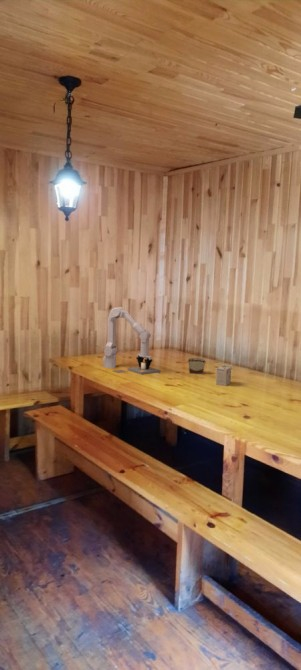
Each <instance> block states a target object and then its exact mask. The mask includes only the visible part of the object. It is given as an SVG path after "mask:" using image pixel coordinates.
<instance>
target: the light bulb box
mask: <svg viewBox="0 0 301 670" xmlns="http://www.w3.org/2000/svg"><path fill="white" fill-rule="evenodd" d="M232 367H233V366H229V365H221V366H219V367H216V378H215V379H216V380H215V385H216V386H224V387H227V385H229V384H231V382H232Z"/></svg>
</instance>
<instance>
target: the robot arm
mask: <svg viewBox="0 0 301 670" xmlns="http://www.w3.org/2000/svg"><path fill="white" fill-rule="evenodd" d="M119 318H122V319H125V320H126V322H128V323H129V324H130V325H131V326H132V329H133V330H134V332H135V333H136V334H137V335H138V336H139V339H140V352H139V353H136V358H135V359H136V360H137V363H138V367H141V362H145V364H146V370H147V369H149V367H151V364H152V362H153V356H151V355H150V354H149V353H150V338H151V336H152V335H151V334H152V333H150V331H149V330H147V329H146V328H144V327H143V325H142V323H140V322H137V321H136V320H135V319H134V318H133V317H132V316H131V314H130V313H129V312H128V310H127V309H126V308H124V307H123V306H119V307H114V308H112V309H111V310H110V312H109V315H108V317H107V341H106V342H107V343H106V344H105V348H104V350H103V353H104V355H103V358H102V367H104V368H106V369H116V367H117V365H116V364H117V353H118V346H117V343H116V322H117V320H118V319H119Z"/></svg>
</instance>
